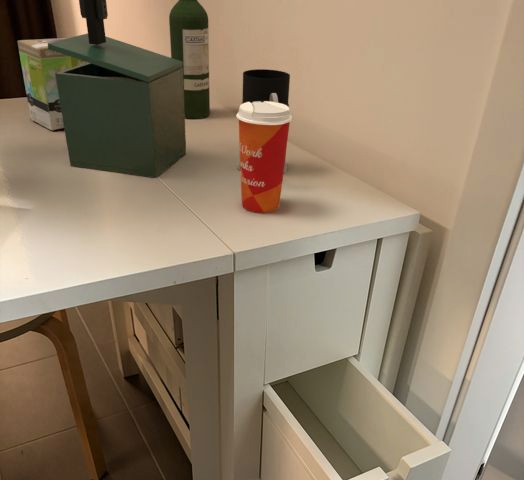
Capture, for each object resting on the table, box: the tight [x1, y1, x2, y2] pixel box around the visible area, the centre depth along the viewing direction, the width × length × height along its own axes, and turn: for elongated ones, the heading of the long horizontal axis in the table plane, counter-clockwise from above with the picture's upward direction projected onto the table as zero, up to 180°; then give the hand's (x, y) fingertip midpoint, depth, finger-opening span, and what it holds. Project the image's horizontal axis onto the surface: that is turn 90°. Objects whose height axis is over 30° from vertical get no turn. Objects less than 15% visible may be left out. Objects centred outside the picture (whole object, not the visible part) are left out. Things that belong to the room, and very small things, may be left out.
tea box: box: [17, 37, 88, 131], centre depth 111 cm, size 15×10×15 cm, turn 132°
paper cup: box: [235, 101, 293, 214], centre depth 79 cm, size 8×8×14 cm
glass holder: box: [237, 68, 291, 175], centre depth 90 cm, size 9×14×15 cm, turn 9°
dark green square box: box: [55, 63, 187, 179], centre depth 93 cm, size 16×14×14 cm
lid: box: [48, 32, 183, 82], centre depth 88 cm, size 16×14×1 cm
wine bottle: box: [168, 0, 211, 120], centre depth 114 cm, size 8×8×30 cm
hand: (97, 42), depth 87 cm, fingers closed
